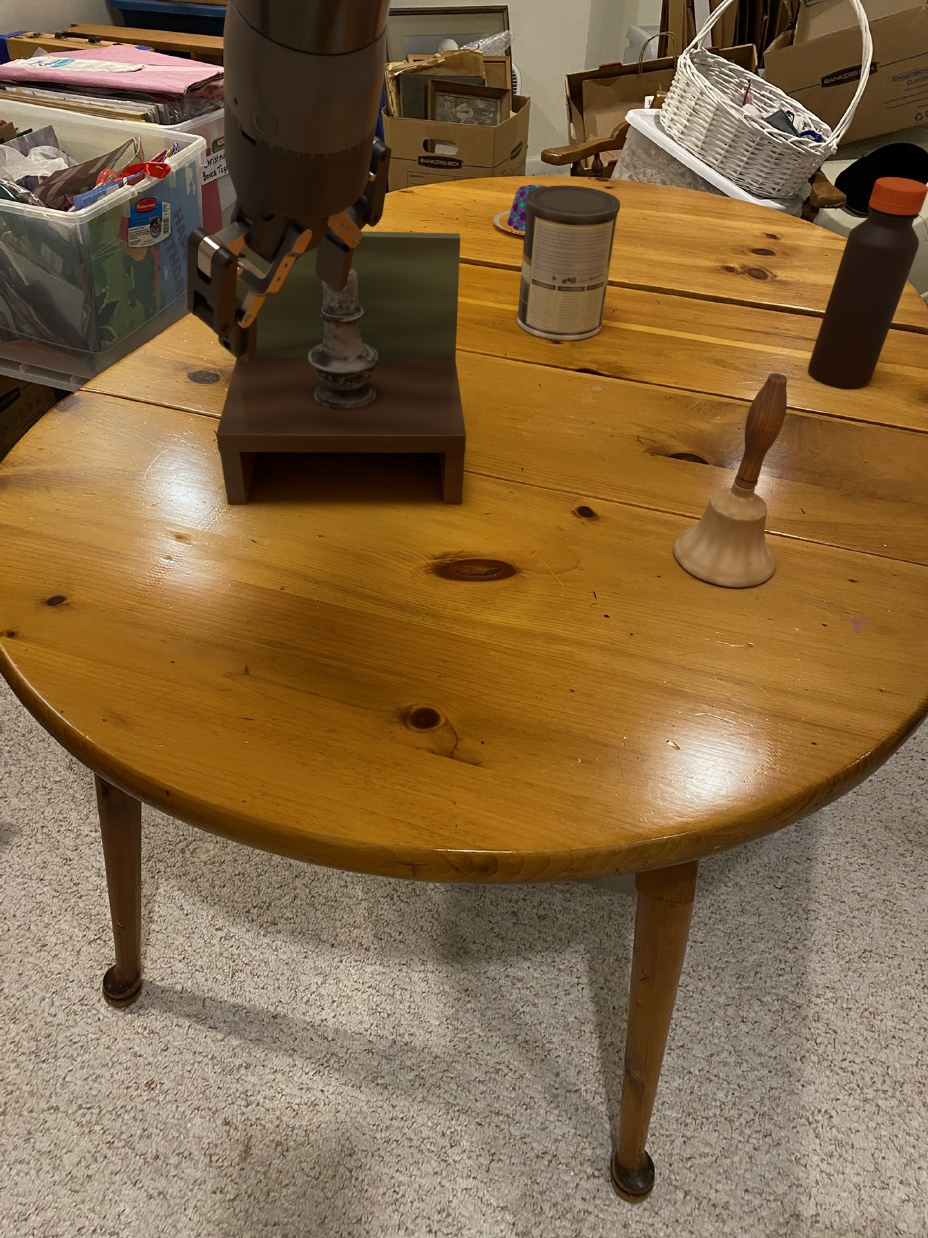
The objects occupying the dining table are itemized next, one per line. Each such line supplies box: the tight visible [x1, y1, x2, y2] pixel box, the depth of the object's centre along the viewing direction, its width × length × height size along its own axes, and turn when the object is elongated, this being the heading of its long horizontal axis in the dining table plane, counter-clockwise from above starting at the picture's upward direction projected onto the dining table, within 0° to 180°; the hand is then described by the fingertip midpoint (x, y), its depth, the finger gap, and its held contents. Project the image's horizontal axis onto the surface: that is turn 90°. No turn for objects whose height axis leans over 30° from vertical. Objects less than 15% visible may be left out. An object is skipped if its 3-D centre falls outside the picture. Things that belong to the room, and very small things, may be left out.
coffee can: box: [516, 184, 621, 342], centre depth 105 cm, size 10×10×14 cm
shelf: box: [215, 227, 467, 505], centre depth 79 cm, size 15×20×18 cm
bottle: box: [807, 176, 928, 389], centre depth 96 cm, size 7×7×20 cm
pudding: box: [493, 184, 547, 236], centre depth 134 cm, size 12×12×5 cm
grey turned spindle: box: [308, 267, 379, 410], centre depth 75 cm, size 6×6×12 cm
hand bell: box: [672, 372, 788, 588], centre depth 71 cm, size 8×8×16 cm
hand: (285, 315), depth 60 cm, fingers open, 8 cm apart
